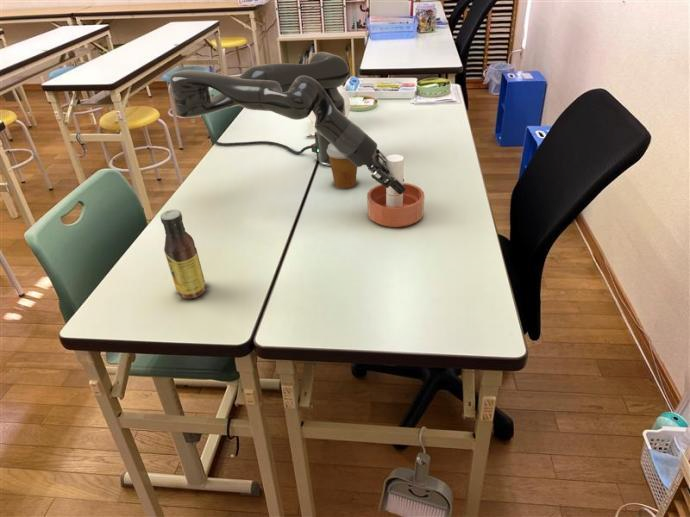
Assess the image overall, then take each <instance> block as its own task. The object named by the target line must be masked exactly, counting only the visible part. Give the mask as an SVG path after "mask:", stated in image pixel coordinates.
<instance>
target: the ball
mask: <svg viewBox="0 0 690 517" xmlns="http://www.w3.org/2000/svg"><path fill="white" fill-rule="evenodd" d="M337 89H338V91H339V93H340V94H341V96H342V97H343V98H344V102H345V117H347V118H348V119H349V114H350V111H351V108H352V106H351V99H350V98H351V97H350V93H349V92H348V91H347V90H346V88H345V87H344V85H343V84H342V85H341V86H339V87H337ZM306 118H307V119H308V120H309V121H310V122H311V124H312V125H313V126H315V121H316V116H315V114H314V113H313V111H311V113H310V115H309V116H308V117H306ZM306 137H307V138H315V134H313V135H312V134H311V133H308V135H306Z"/></svg>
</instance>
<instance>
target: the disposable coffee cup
mask: <svg viewBox="0 0 690 517" xmlns="http://www.w3.org/2000/svg"><path fill="white" fill-rule="evenodd" d="M327 153H328V155H329V159H330V164H331V166H330V169H331V174H332V178H333V182H334V186H335V187H336V188H338V189H351V188H353V187H355V186H356V185H357V175H358V174H357V173H358V167H356V166H355V165H354V164H353V163H352V162H350V161H349V160H348V159H347V158H346V157H345V156H344V155H342V154H341V153H340V152H339V151H338V150H337V149H336V148H335V147H334V146H333V145H332V144H331V143H330V144H329V145H328V149H327Z"/></svg>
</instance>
